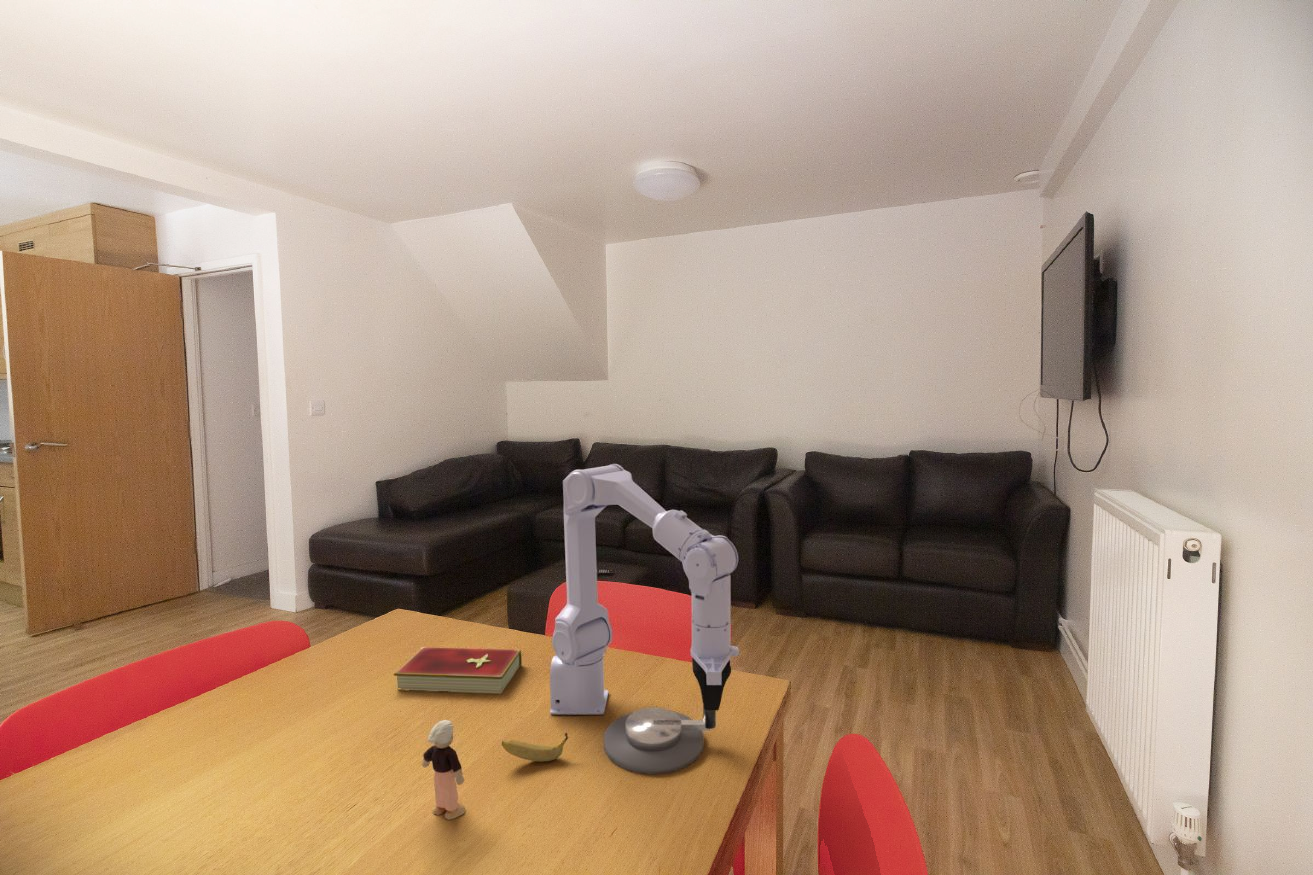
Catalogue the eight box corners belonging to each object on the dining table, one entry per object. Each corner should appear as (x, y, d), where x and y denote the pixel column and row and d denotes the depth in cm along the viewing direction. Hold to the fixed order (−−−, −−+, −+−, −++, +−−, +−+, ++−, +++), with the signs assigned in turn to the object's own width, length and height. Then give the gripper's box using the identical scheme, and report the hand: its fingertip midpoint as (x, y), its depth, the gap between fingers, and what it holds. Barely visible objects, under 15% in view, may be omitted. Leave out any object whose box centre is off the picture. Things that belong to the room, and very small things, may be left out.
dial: (623, 750, 97) (622, 710, 97) (627, 718, 106) (627, 681, 105) (717, 750, 97) (717, 710, 96) (714, 718, 106) (714, 681, 105)
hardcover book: (423, 664, 132) (422, 645, 131) (522, 667, 130) (521, 647, 129) (395, 693, 120) (393, 672, 119) (502, 696, 118) (501, 675, 117)
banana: (501, 769, 95) (500, 744, 95) (503, 759, 98) (502, 735, 97) (569, 762, 97) (568, 737, 96) (568, 753, 99) (568, 729, 99)
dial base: (598, 773, 94) (598, 764, 94) (609, 715, 110) (609, 708, 110) (705, 774, 93) (705, 765, 93) (701, 716, 109) (701, 708, 109)
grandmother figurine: (478, 805, 87) (474, 718, 86) (461, 824, 84) (456, 734, 82) (432, 794, 90) (427, 709, 88) (413, 812, 86) (408, 724, 85)
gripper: (743, 640, 86) (743, 735, 87) (733, 602, 100) (734, 684, 101) (691, 640, 86) (692, 735, 87) (689, 602, 100) (690, 684, 102)
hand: (711, 707), depth 94 cm, fingers closed
